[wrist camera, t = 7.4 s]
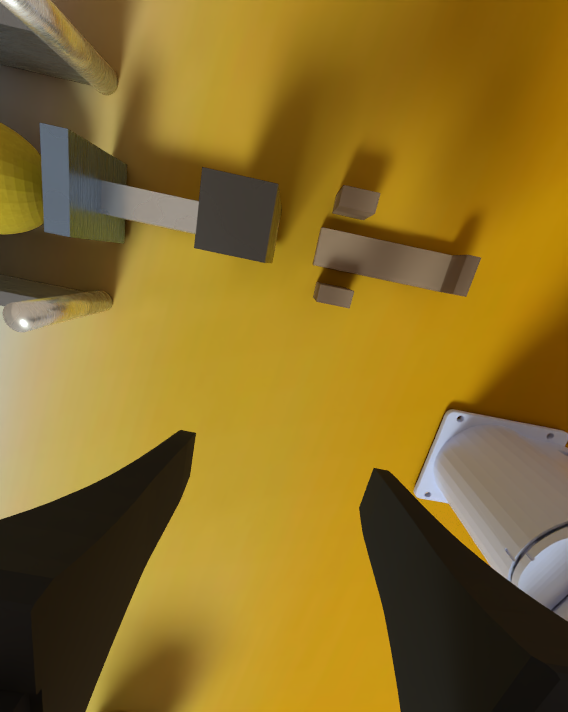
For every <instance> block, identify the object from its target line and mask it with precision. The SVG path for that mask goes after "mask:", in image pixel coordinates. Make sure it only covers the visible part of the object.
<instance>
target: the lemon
mask: <svg viewBox="0 0 568 712" xmlns="http://www.w3.org/2000/svg"><path fill="white" fill-rule="evenodd" d="M43 223H44V213H43V190H42V167H41V155H40V154H39V153H38V151H37V150H36V149H35V148H34V147H33V146H32V145H31V144H30V143H29V142H28V141H27V140H25V139H24V138H23V137H22V136H21V135H19V134H18V133H16V132H15V131H14V130H12V129H11V128H9V127H7V126H5V125H4V124H2V123H0V234H16V233H22V232H27V231H30V230H33V229H35V228H37V227H39V226H41V225H42V224H43Z"/></svg>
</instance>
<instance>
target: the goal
mask: <svg viewBox="0 0 568 712" xmlns="http://www.w3.org/2000/svg"><path fill="white" fill-rule="evenodd" d="M0 64H2V65H6V66H10V67H15V68H19V69H23V70H28V71H32V72H36V73H41V74H45V75H49V76H54V77H58V78H62V79H67V80H71V81H75V82H80V83H84V84H88V85H92V86H93V87H94V88H95V89H97V90H98V91H99V92H100V93H102V94H104V95H110V94H112V93H114V92H115V90H116V88H117V85H118V80H117V76H116V73H115V71H114V70H113V69H112V68H111V66H110V65H109V64H108V63H107V62H106V61H105V60H104V59H103V58H102V57H101V55H100V54H99V53H98V52H97V51H96V50H95V49H94V48H93V47H92V45H91V44H90V43H89V42H88V41H87V40H86V39H85V38H84V37H83V36H82V34H81V33H80V32H79V31H78V30H77V29H76V28H75V27H74V26H73V25H72V23H71V22H70V21H69V20H68V19H67V18H66V17H65V16H64V15H63V13H62V12H61V11H60V10H59V9H58V8H57V7H56V6H55V5H54V4H53V2H52V1H51V0H0ZM0 305H1V306H5V307H4V309H3V318H4V320H5V322H6V324H7V325H8V326H9V327H10V328H11V329H13V330H15V331H18V332H26V331H30V330H34V329H38V328H42V327H46V326H49V325H53V324H57V323H61V322H65V321H69V320H73V319H77V318H80V317H84V316H88V315H92V314H96V313H100V312H104V311H107V310H109V309H110V308H111V307H112V298H111V296H110V295H109V294H108V293H107V292H105V291H102V290H98V291H91V292H85V291H80V290H75V289H70V288H65V287H60V286H55V285H50V284H45V283H40V282H35V281H30V280H25V279H20V278H15V277H10V276H5V275H0Z"/></svg>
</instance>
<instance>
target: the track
mask: <svg viewBox="0 0 568 712" xmlns="http://www.w3.org/2000/svg"><path fill="white" fill-rule="evenodd" d="M379 196H380V193H377V192H373V191H368V190H364V189H360V188H355V187H351V186H346V185H343V187H342V188H341V189H340V191H339V192H338V194H337V195H336V199H335V204H334V208H333V212H332V213H334V214H338V215H343V216H347V217H352V218H356V219H361V220H365V219H366V218H368V217H370V216H372V215H373V214H375V211H376V208H377V204H378V200H379ZM480 259H481V258H480V257H475V256H471V255H453V256H452V255H448V254H443V253H438V252H434V251H429V250H425V249H420V248H415V247H411V246H406V245H402V244H397V243H392V242H388V241H383V240H379V239H374V238H369V237H365V236H360V235H355V234H351V233H346V232H342V231H337V230H332V229H328V228H323V227H322V228H321V229H320V234H319V238H318V243H317V247H316V252H315V257H314V261H313V265H316V266H321V267H326V268H330V269H335V270H340V271H345V272H349V273H354V274H359V275H363V276H368V277H373V278H378V279H382V280H387V281H392V282H397V283H401V284H406V285H411V286H416V287H420V288H425V289H430V290H435V291H439V292H444V293H449V294H455V295H460V296H465V297H466V296H467V293H468V291H469V288H470V285H471V283H472V280H473V278H474V275H475V272H476V270H477V267H478V265H479V262H480ZM353 294H354V291H352V290H350V289H347V288H344V287H339V286H334V285H329V284H324V283H320V282H317V283H316V287H315V291H314V296H313V297H314V299H315V300H316V301H317V302H321V303H326V304H331V305H336V306H341V307H345V308H350V305H351V301H352V297H353Z"/></svg>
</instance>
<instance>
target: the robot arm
mask: <svg viewBox="0 0 568 712" xmlns="http://www.w3.org/2000/svg"><path fill="white" fill-rule="evenodd" d="M458 416H461V417H460V418H459V419H457V417H458ZM548 434H549V435H548ZM195 436H196V433H193V432H188V431H183V430H180V431H178V432H177V433H175V434H174V435H172V436H171V437H169V438H168V439H167V440H165V441H164V442H162V443H161V444H160V445H158V446H157V447H155V448H154V449H152V450H151V451H149V452H148V453H146V454H145V455H143V456H142V457H140V458H139V459H137V460H135V461H134V462H132V463H130V464H129V465H127V466H125V467H124V468H122V469H120V470H119V471H117V472H115V473H113V474H112V475H110V476H108V477H106V478H104V479H102V480H100V481H98V482H96V483H94V484H92V485H90V486H88V487H85V488H83V489H81V490H79V491H76V492H74V493H71V494H69V495H67V496H64V497H62V498H60V499H57V500H55V501H52V502H50V503H47V504H45V505H42V506H39V507H36V508H34V509H31V510H28V511H25V512H22V513H19V514H16V515H13V516H10V517H7V518H4V519H1V520H0V712H85V711H86V709H87V706H88V703H89V701H90V698H91V696H92V693H93V691H94V688H95V686H96V683H97V681H98V678H99V676H100V673H101V671H102V668H103V666H104V663H105V661H106V658H107V656H108V653H109V651H110V648H111V646H112V643H113V641H114V639H115V636H116V634H117V631H118V629H119V627H120V624H121V622H122V619H123V617H124V615H125V612H126V610H127V607H128V605H129V603H130V600H131V598H132V596H133V593H134V591H135V589H136V586H137V584H138V582H139V579H140V577H141V575H142V573H143V570H144V568H145V566H146V564H147V562H148V560H149V558H150V556H151V554H152V552H153V551H154V549H155V547H156V545H157V543H158V541H159V539H160V538H161V536H162V534H163V532H164V530H165V528H166V526H167V524H168V523H169V521H170V519H171V517H172V515H173V513H174V511H175V509H176V507H177V506H178V504H179V502H180V500H181V497H182V495H183V492H184V490H185V487H186V485H187V482H188V479H189V477H190V472H191V464H192V457H193V450H194V443H195ZM567 441H568V433H566V432H565V431H562V430H558V429H553V428H548V427H542V426H537V425H532V424H527V423H522V422H517V421H511V420H506V419H501V418H496V417H491V416H486V415H480V414H475V413H470V412H465V411H460V410H455V409H451V410H448V411H447V412H446V413H445V415H444V418H443V420H442V423H441V425H440V427H439V430H438V432H437V435H436V437H435V440H434V442H433V444H432V447H431V449H430V452H429V454H428V457H427V459H426V462H425V464H424V466H423V469H422V471H421V474H420V476H419V479H418V481H417V483H416V486H415V488H414V493H415V495H416V496H417V497H418V498H422V499H428V500H433V501H439V502H444V503H449V504H450V506H451V507H452V509H453V510H454V512H455V513H456V515H457V516H458V518H459V519H460V521H461V522H462V524H463V525H464V527H465V528H466V530H467V531H468V533H469V534H470V536H471V537H472V539H473V540H474V542H475V543H476V545H477V546H478V548H479V549H480V551H481V552H482V554H483V555H484V557H485V558H486V560H487V561H488V563H489V564H490V566H491V567H492V568H491V567H490V566H489V565H488V564H486V563H485V562H484V561H483V560H481V559H480V558H479V557H478V556H477V555H475V554H474V553H473V552H472V551H471V550H470V549H468V548H467V547H466V546H465V545H464V544H462V543H461V542H460V541H459V540H458V539H457V538H456V537H455V536H454V535H452V534H451V533H450V532H449V531H448V530H447V529H446V528H445V527H444V526H443V525H442V524H441V523H440V522H439V521H438V520H437V519H436V518H435V517H434V516H433V515H432V514H431V513H430V512H429V511H428V510H427V509H426V508H425V507H424V506H423V505H422V504H421V503H420V502H419V501H418V500H417V499H416V498H415V497H414V496H413V495H412V494H411V493H410V492H409V491H408V490H407V489H406V488H405V487H404V486H403V485H402V484H401V483H400V481H399V480H398V479H397V478H396V477H395V476H394V475H393V474H391V473H390V472H389V471H387V470H382V469H377V468H374V469H373V471H372V474H371V477H370V480H369V482H368V485H367V488H366V491H365V493H364V496H363V499H362V502H361V504H360V507H359V510H360V518H361V525H362V531H363V536H364V540H365V544H366V548H367V551H368V555H369V559H370V562H371V566H372V569H373V573H374V576H375V580H376V584H377V587H378V591H379V594H380V598H381V602H382V606H383V610H384V615H385V620H386V625H387V630H388V636H389V641H390V647H391V652H392V658H393V664H394V670H395V676H396V682H397V688H398V695H399V702H400V709H401V712H568V448H567V447H565V445H566V443H567ZM426 492H428V493H426ZM425 493H426V494H425Z"/></svg>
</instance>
